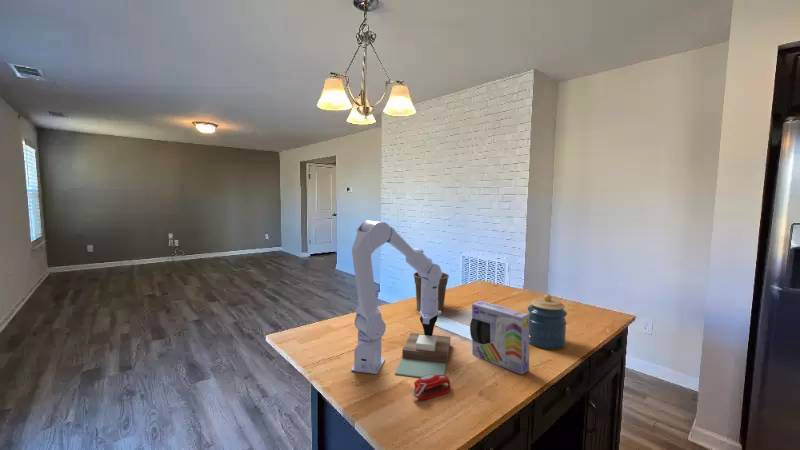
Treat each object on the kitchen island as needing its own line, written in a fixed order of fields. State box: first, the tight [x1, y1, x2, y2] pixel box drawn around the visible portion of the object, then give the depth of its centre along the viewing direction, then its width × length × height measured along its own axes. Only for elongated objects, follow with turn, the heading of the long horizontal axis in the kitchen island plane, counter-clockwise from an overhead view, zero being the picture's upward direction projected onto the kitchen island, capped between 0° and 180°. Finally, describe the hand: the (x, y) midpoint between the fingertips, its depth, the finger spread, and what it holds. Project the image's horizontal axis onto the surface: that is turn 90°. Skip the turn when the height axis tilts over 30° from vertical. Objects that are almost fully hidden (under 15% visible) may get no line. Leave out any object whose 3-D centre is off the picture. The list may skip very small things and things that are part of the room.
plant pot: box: [412, 271, 450, 312], centre depth 159 cm, size 16×16×16 cm
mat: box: [394, 358, 447, 379], centre depth 104 cm, size 10×14×1 cm
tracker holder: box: [412, 375, 451, 400], centre depth 92 cm, size 12×4×10 cm
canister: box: [527, 293, 568, 351], centre depth 124 cm, size 13×13×18 cm
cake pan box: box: [469, 300, 530, 375], centre depth 109 cm, size 19×5×18 cm, turn 40°
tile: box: [416, 335, 438, 351], centre depth 113 cm, size 7×6×2 cm
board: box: [401, 332, 451, 365], centre depth 116 cm, size 14×14×3 cm
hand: (428, 337), depth 118 cm, fingers closed
